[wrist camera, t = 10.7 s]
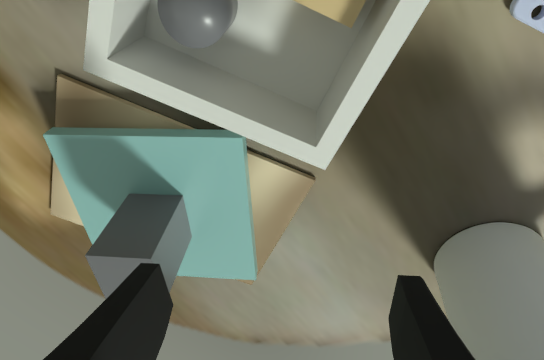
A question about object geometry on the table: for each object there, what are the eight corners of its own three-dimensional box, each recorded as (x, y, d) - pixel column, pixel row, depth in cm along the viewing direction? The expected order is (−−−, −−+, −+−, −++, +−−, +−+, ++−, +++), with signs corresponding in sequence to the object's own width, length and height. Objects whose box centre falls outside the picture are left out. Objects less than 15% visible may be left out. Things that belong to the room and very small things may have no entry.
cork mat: (315, 177, 20) (315, 180, 20) (252, 281, 26) (251, 285, 25) (60, 73, 18) (57, 75, 18) (53, 211, 24) (50, 214, 23)
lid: (247, 122, 18) (220, 197, 13) (259, 260, 24) (243, 349, 19) (61, 120, 19) (-29, 188, 14) (115, 253, 25) (64, 334, 20)
